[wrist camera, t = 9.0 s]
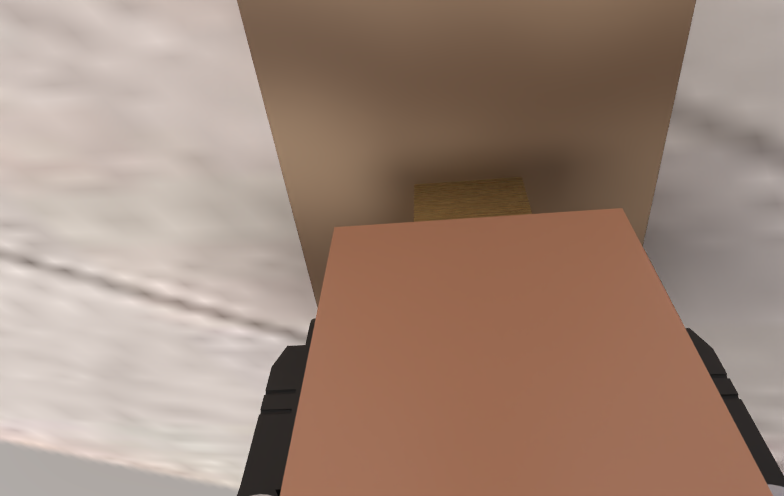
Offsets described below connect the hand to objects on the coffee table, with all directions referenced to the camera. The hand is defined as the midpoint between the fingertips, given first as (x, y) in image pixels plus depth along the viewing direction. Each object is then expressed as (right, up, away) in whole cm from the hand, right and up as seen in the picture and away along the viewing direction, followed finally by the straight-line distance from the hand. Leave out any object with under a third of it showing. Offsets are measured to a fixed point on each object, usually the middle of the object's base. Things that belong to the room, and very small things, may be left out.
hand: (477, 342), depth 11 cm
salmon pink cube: (0, 0, +1) cm, 1 cm away
